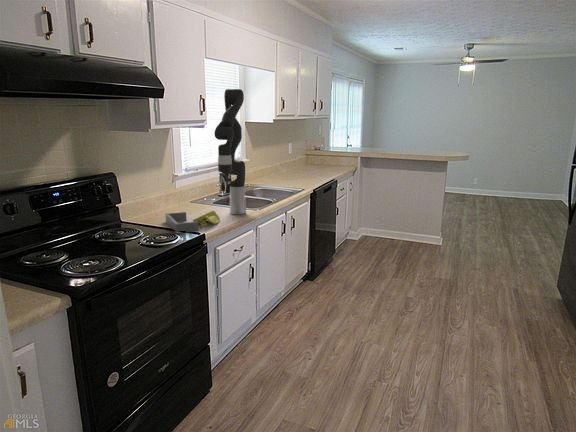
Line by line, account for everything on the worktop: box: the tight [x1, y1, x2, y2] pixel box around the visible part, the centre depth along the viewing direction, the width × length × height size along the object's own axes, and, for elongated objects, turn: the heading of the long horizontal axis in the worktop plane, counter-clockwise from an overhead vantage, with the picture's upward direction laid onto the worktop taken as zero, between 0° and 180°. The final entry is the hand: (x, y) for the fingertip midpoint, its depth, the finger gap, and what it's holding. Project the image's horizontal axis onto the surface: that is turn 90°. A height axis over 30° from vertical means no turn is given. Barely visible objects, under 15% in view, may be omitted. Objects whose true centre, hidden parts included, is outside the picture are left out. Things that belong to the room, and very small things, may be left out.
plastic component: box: [191, 210, 221, 228], centre depth 231 cm, size 20×7×10 cm
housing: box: [164, 211, 199, 233], centre depth 225 cm, size 12×28×5 cm, turn 27°
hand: (225, 192), depth 233 cm, fingers open, 8 cm apart
